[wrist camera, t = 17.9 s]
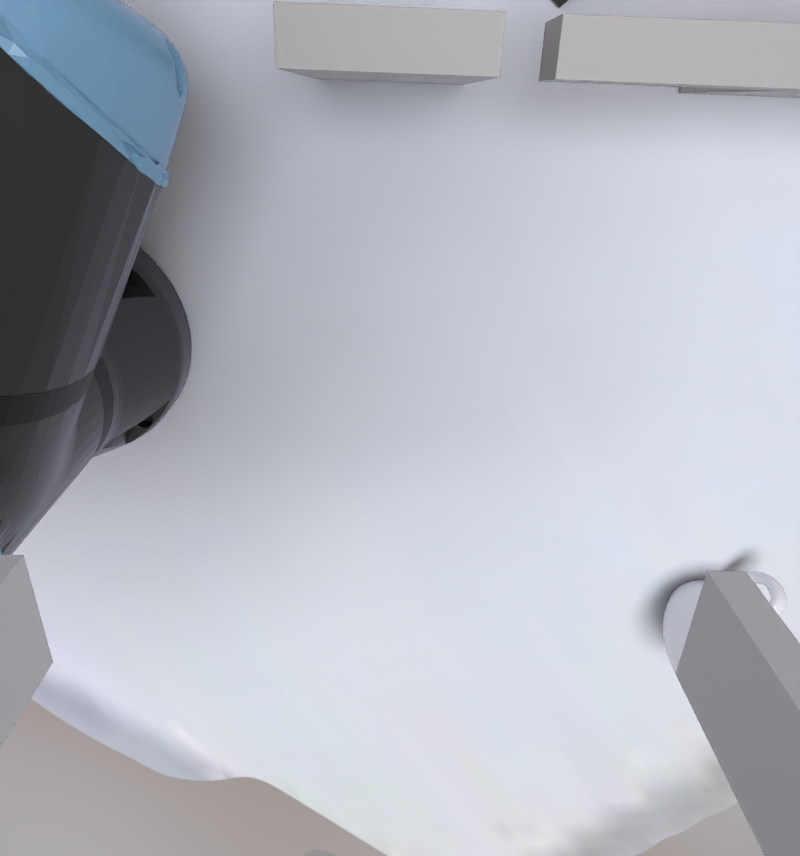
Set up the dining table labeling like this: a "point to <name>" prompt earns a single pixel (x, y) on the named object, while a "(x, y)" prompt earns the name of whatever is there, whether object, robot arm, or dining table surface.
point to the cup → (685, 605)
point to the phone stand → (560, 2)
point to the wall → (561, 56)
